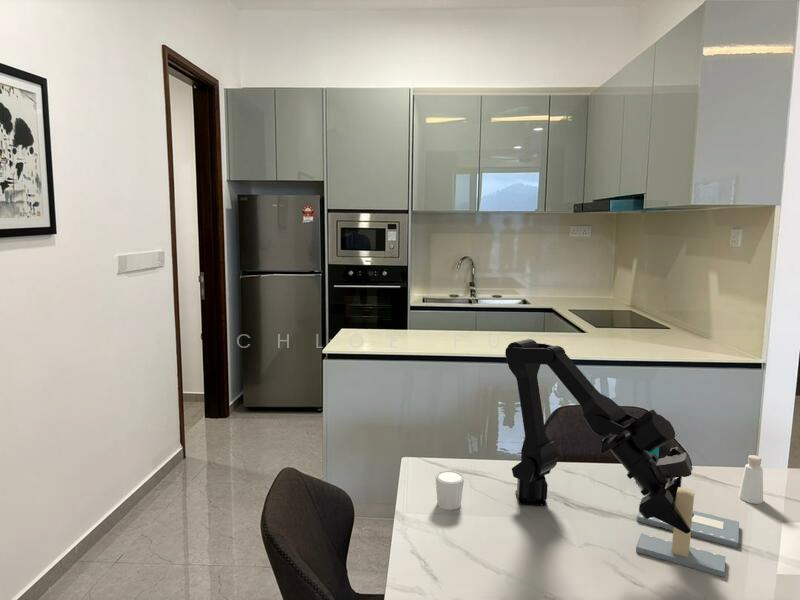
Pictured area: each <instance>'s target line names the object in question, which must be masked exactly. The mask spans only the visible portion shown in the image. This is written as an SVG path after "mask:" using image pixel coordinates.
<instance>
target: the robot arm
mask: <svg viewBox="0 0 800 600" xmlns="http://www.w3.org/2000/svg"><path fill="white" fill-rule="evenodd" d="M504 351H505V352H504V353H505V355H504V356H505V358H506V362H507V365H508V368H509V370H510V372H511V373H512V374H513V376H514V377H515V378H516V384H517V390H518V397H519V402H520V403H519V405H520V411H521V412H520V413H521V417H522V425H523V431H524V439H523V443H522V446H521V450H520V451H521V452H520V454H521V455H520V456H521V458H520V460H521V461H520V462H518V463H517V464H516V465H514V466H513V467H512V468H511V471H512V476H513V478H516V480H517V481H516V482H517V483H516V486H517V487H516V490H515V497H516V499H517V502H518V505H520V506H521V505H524V506H525V505H526V506H547V502H546V500H548V482H547V480H546V476H547V475H549V474H551V470H553V469H554V468H555V467H556V466H557V464H558V459H559V458H560V456H559V454H558V450H557V446H558V445H557V441H551V440H550V439H549V438H548V436H547V433H546V429H545V421H544V414H543V413H544V412H543V407H542V401H541V393H540V388H539V381H538V374H539V370H540V368H541V364H542V365H547V366H548V367H549V368H550V370H551V371H552V372H553V373H554V375H555V376H556V377H557V379H559V381H560V382H561V383H562V385H563V386H564V387H565V388H566V389H567V390H568V391H569V392H570V395H572V396H573V398H574V399H575V400H576V401H577V404H579V406H580V407H581V411H582V415H583V418H584V420H585V422H586V424H587V425H588V426H589V428H590V430H591V431H592V432H593V433H594V434H595V435H597V436H601V437H604V438H603V439H602V440H601V441H600V443H601V448H600V454H601V455H604V454H606V453H607V452H609V451H610V452H611V453H612V454H613V455H614V457H615V458H616V459H617V460H618V461H619V463H620V464H621V465H622V466H623V468H625V470H626V471H627V474H626V476H627V478H628V479H630V480H631V479H633V480H635V482H636V483H637V484H638V486H639V487H640V488H641V490H640V493H641V495H643V497H642V498H641V500H640V502H639V505H638V513H639V512H640V513H641V514H642V516H643V517H644V518H645V519H648V518H650V517H655V518H657V519H659V520H661V521H663V522H665V523H667V524H669V525H671V526H673V527H675V528H677V529H679V530H680V531H682V532H684V533H686V534H687V533H689V532H691V530H690V528H689V526H688V525H687V523H686V521H685V520H684V518H683V517H682V515H681V514H680V512H679V511H678V509H677V508H676V494H677V490H678V487H681V488H682V480H683V478H687V477H690V476H691V475H692V471H693V469H694V468H693V466H692V464H691V461H690V456H689V455H688V454H687V452H686V451H683V450H681V448H679V446H675V447H671V448H670V450H669V456H668V455H665V457H661V458H659V456H658V457H657V456H656V455H655V454H653V453H652V454H649V453H648V452H651V451H653V450H655V449H657V448H659V449H660V448H661V447H662V446H664V445H666V444H667V443H669V442H671V441H674V440H675V438H676V431H675V429H674V426H673V424H672V423H671V422H670V421H669V420H667V419H666V418H665V417H664V416H663V415H661V414H658V413H657V412H656V411H655V409H650V410H648V411H646V412H645V413H643V415H642V416H640V417H637V416H635V415H632V414H630V413H627V412H626V411H625V410H624V409H623V408H622V407H621V406H620V405H619V404H617V403H616V401H613V400H612V398H610V397H608V396H606V395H604V394H603V393H601V392H600V391H599V390H597V389H596V387H595V385H593V384H592V383H591V381H590V380H588V378H587V377H586V376H585V374H584V373H583V372H582V371H581V370H580V368H579V367H578V366H577V365H576V363H574V361H573V360H572V359H571V358H570V357H569V356H568V354H567V353H566V350H565V349H564V347H562V346H561V345H560V346H559V345H551V344H548V343H540V342H538V343H537V341H536V340H535V339H530V338H527V339H522V340H519V341H514V342H511V343H509V344H508V346H507V347H506V348H505V350H504ZM625 432H627V433H625ZM610 435H614V436H612V437H607V436H610ZM647 451H648V452H647ZM693 516H694V514H693V515H692V517H693Z"/></svg>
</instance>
